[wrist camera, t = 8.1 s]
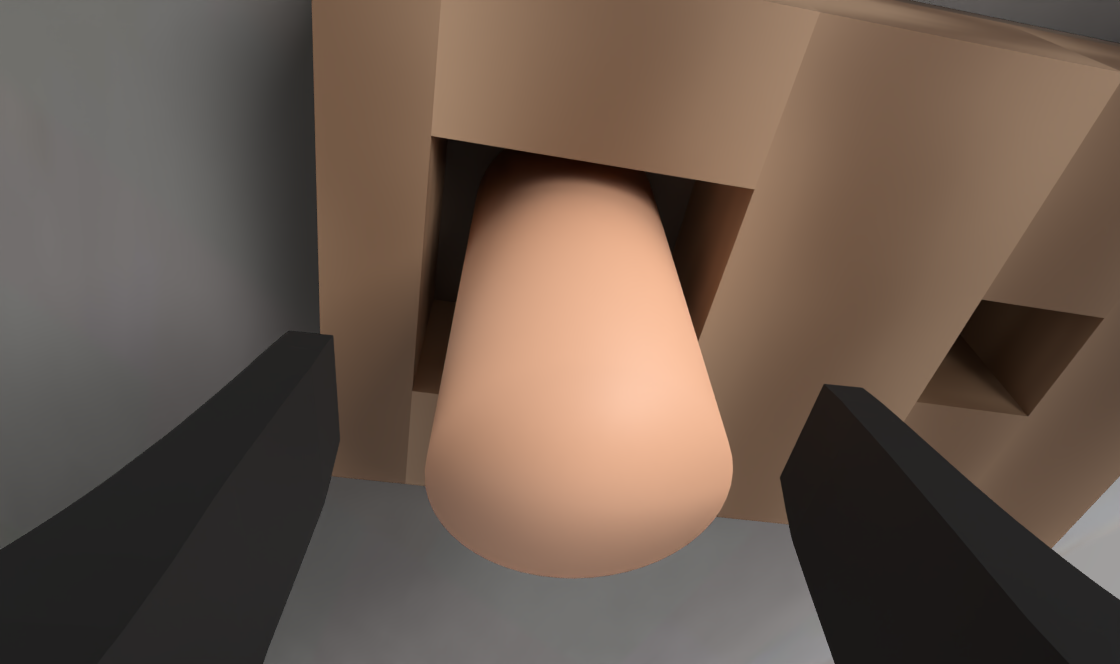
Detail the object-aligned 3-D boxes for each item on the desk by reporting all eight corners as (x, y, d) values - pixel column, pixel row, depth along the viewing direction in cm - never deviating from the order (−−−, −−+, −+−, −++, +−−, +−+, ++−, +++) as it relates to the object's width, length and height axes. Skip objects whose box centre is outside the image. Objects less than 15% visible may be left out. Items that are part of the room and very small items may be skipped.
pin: (672, 141, 15) (776, 384, 8) (632, 299, 17) (688, 588, 10) (483, 113, 14) (431, 346, 8) (468, 279, 17) (419, 567, 10)
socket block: (1240, 68, 15) (1439, 136, 11) (969, 439, 21) (1048, 551, 18) (370, -112, 12) (308, -91, 9) (361, 363, 19) (323, 475, 16)
